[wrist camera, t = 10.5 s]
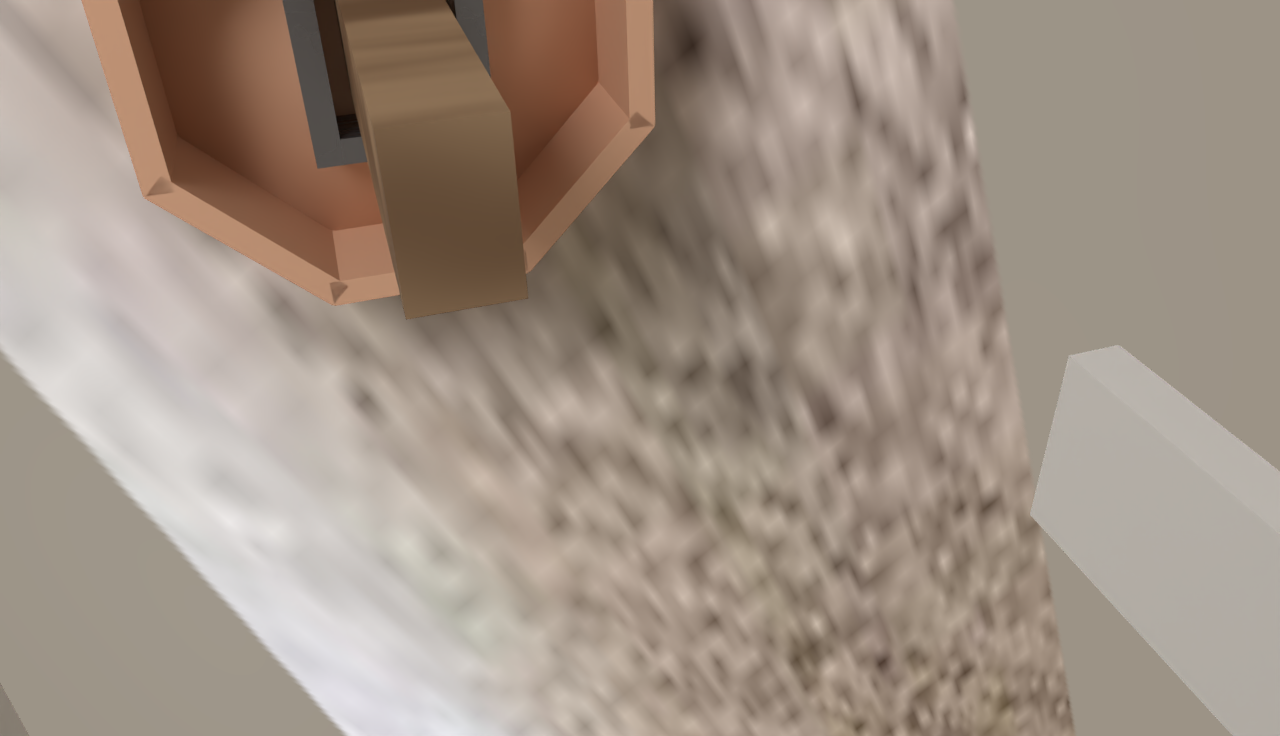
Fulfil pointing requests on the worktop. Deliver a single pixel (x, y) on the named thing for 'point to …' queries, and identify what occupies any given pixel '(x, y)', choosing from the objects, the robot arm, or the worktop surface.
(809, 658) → the worktop surface
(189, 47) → the orange octagonal tray
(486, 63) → the grey rectangular sleeve
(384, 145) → the wooden bar
